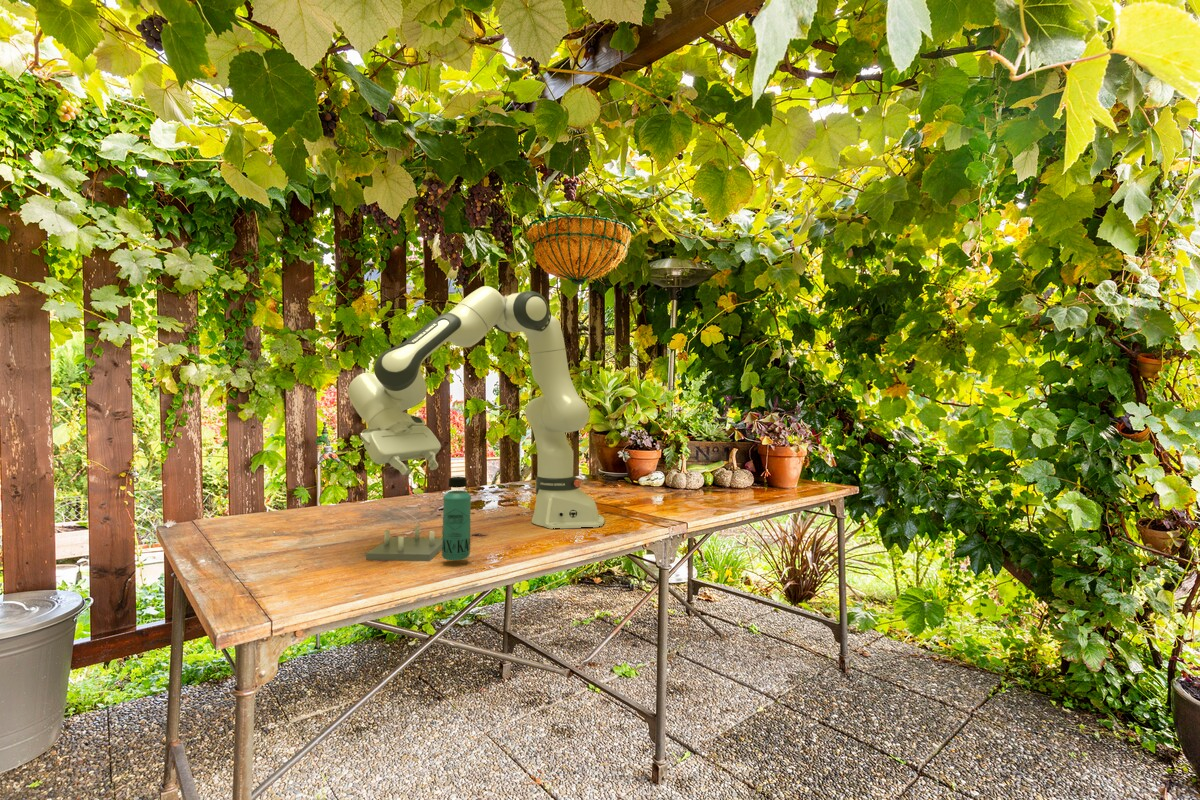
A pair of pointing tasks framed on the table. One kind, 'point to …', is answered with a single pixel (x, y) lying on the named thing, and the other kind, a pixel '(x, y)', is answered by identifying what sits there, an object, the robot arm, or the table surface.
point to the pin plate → (406, 547)
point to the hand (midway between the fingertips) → (421, 470)
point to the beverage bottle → (456, 521)
